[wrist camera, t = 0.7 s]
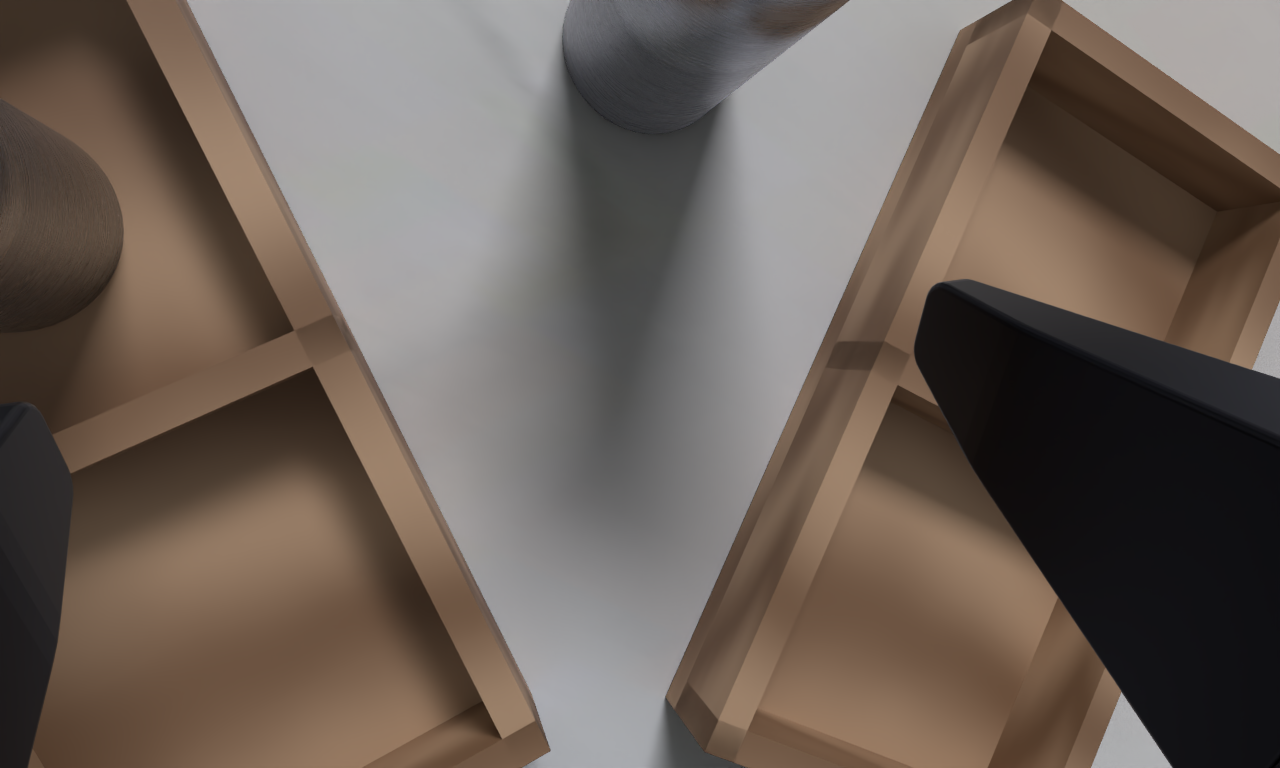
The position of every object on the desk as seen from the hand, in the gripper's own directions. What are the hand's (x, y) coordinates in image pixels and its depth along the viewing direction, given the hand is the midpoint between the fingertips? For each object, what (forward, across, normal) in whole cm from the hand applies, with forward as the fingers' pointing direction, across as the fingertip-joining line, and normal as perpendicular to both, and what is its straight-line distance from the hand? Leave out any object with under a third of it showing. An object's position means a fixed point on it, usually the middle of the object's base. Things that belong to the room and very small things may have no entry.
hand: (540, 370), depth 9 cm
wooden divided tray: (+9, -14, +10) cm, 19 cm away
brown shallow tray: (+10, +8, +8) cm, 15 cm away
